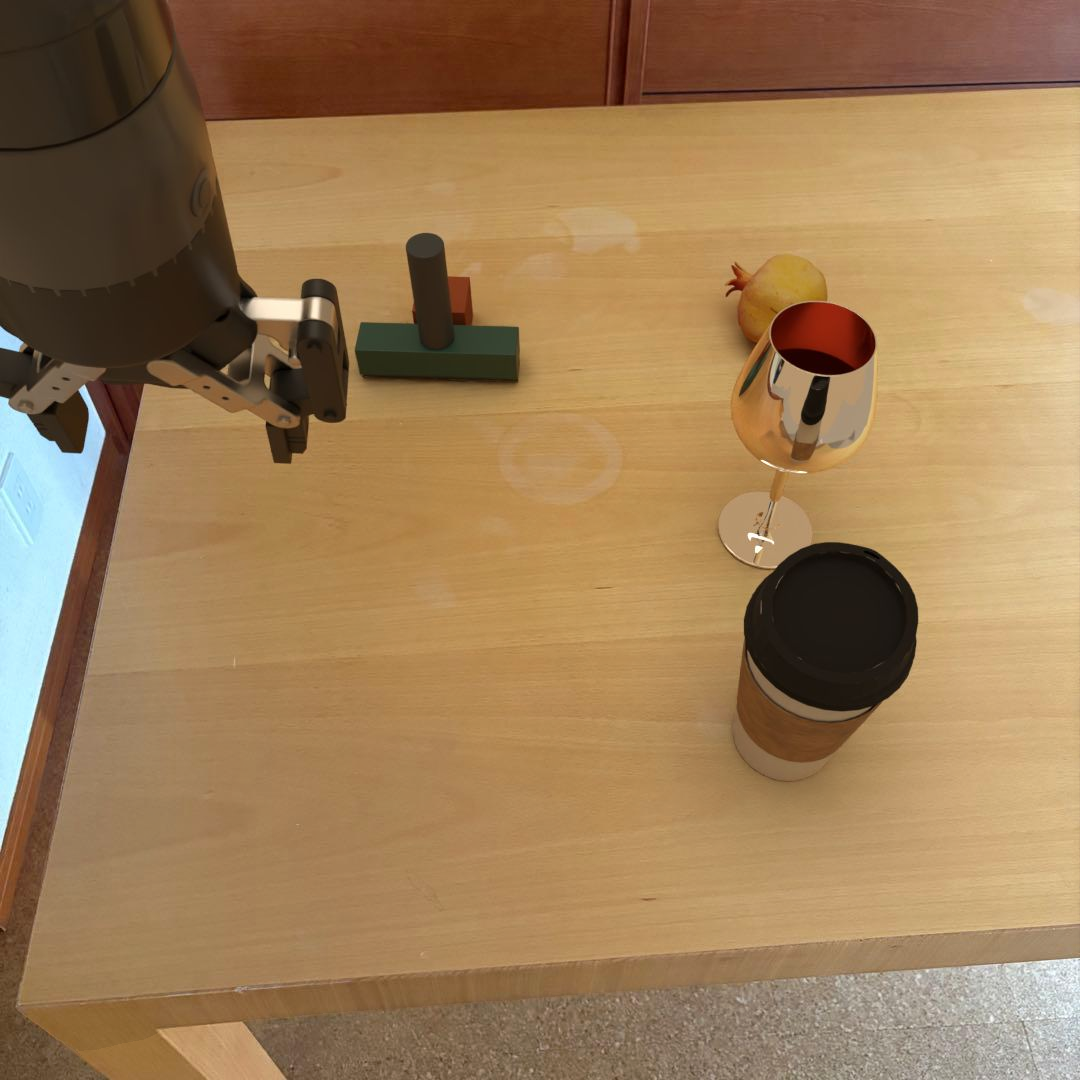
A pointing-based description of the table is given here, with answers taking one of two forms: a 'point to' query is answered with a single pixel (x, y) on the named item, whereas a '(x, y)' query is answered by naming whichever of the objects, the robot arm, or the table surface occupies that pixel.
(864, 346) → the wineglass
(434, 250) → the wiper
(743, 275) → the fruit
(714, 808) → the table surface
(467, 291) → the rust-brown cube
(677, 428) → the table surface
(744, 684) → the coffee cup
